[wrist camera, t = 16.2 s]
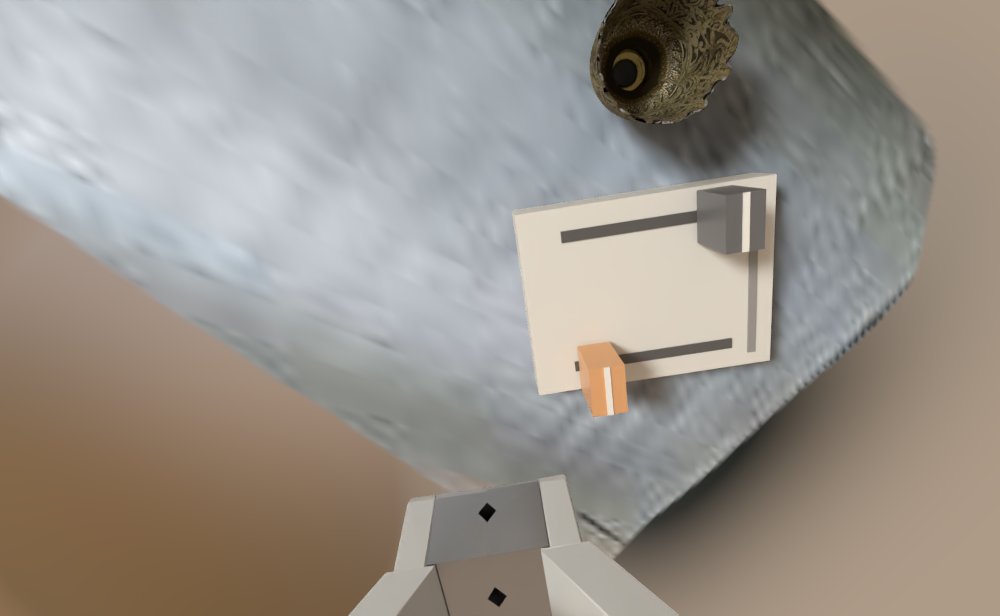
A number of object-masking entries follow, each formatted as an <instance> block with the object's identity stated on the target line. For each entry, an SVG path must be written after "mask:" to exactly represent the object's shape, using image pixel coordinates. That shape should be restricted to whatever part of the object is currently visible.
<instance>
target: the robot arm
mask: <svg viewBox="0 0 1000 616" xmlns="http://www.w3.org/2000/svg"><path fill="white" fill-rule="evenodd" d="M348 616H680V615H678V614H677V613H676V612H675V611H674V610H673V609H671V608H670V607H669V606H668V605H667V604H665V603H664V602H663V601H662V600H661V599H659V598H658V597H657V596H656V595H655V594H653V593H652V592H651V591H650V590H649V589H647V588H646V587H645V586H644V585H643V584H641V583H640V582H639V581H638V580H637V579H635V578H634V577H633V576H632V575H631V574H630V573H628V572H627V571H626V570H625V569H623V568H622V567H621V566H620V565H618V563H616V562H615V561H614V560H613V559H612V558H610V557H609V556H608V555H607V554H606V553H604V552H603V551H602V550H601V549H600V548H599V547H597V546H596V545H595V544H594V543H593V542H591V541H589V542H583V541H582V537H581V534H580V530H579V526H578V522H577V518H576V514H575V510H574V506H573V502H572V498H571V494H570V491H569V487H568V483H567V479H566V477H565V476H564V474H563V475H557V476H552V477H546V478H540V479H539V483H538V480H532V481H526V482H520V483H514V484H508V485H502V486H496V487H489V488H482V489H474V490H467V491H459V492H452V493H444V494H438V495H432V496H425V497H418V498H411V500H410V501H409V503H408V505H407V509H406V514H405V519H404V524H403V529H402V534H401V539H400V544H399V548H398V554H397V559H396V563H395V569H394V572H389V573H385V574H384V575H383V577H382V578H381V579H380V580H379V581H378V582H377V583H376V585H375V586H374V587H373V588H372V589H371V590H370V591H369V593H368V594H367V595H366V596H365V597H364V598H363V599H362V601H361V602H360V603H359V604H358V605H357V606H356V607H355V609H354V610H353V611H352V612H351V613H350V614H349V615H348Z"/></svg>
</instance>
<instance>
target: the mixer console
mask: <svg viewBox="0 0 1000 616" xmlns="http://www.w3.org/2000/svg"><path fill="white" fill-rule="evenodd" d="M776 180H777V174H768V173H746V174H740V175H733V176H727V177H721V178H714V179H708V180H702V181H695V182H689V183H683V184H676V185H670V186H663V187H657V188H651V189H644V190H638V191H632V192H625V193H619V194H613V195H606V196H600V197H594V198H587V199H581V200H574V201H568V202H562V203H555V204H549V205H543V206H536V207H530V208H524V209H517V210H512V216H513V223H514V230H515V237H516V244H517V251H518V258H519V265H520V273H521V280H522V287H523V294H524V301H525V308H526V315H527V322H528V329H529V336H530V344H531V351H532V358H533V365H534V372H535V379H536V383H537V387H538V391H539V395H544V394H551V393H557V392H564V391H571V390H577V389H581V379H580V370H579V360H578V351H577V346H583V345H589V344H596V343H603V342H610V344H611V345H612V347H613V348H614V350H615V351H616V353H617V354H618V356H619V357H620V359H621V360H622V361H623V363H624V364H625V377H626V382H630V381H637V380H643V379H650V378H657V377H663V376H670V375H676V374H683V373H690V372H696V371H703V370H709V369H716V368H723V367H729V366H736V365H742V364H749V363H756V362H762V361H769V360H770V343H771V316H772V289H773V261H774V234H775V207H776ZM728 185H737V186H745V187H754V188H762V189H766V221H765V249H759V250H753V251H749V252H740V253H733V254H727V255H725V254H723V253H721V252H718V251H716V250H713V249H711V248H708V247H706V246H703V245H701V244H699V243H697V190H703V189H709V188H716V187H722V186H728Z"/></svg>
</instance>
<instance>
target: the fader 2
mask: <svg viewBox="0 0 1000 616" xmlns="http://www.w3.org/2000/svg"><path fill="white" fill-rule="evenodd" d="M765 221H766V189H762V188H754V187H745V186H737V185H728V186H722V187H716V188H709V189H703V190H697V243H699V244H701V245H703V246H706V247H708V248H711V249H713V250H716V251H718V252H721V253H723V254H725V255H727V254H733V253H740V252H749V251H753V250H759V249H765Z"/></svg>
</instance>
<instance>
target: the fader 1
mask: <svg viewBox="0 0 1000 616" xmlns="http://www.w3.org/2000/svg"><path fill="white" fill-rule="evenodd" d="M577 351H578V360H579V370H580V379H581V389H582V391H583V394H584V396H585V399H586V401H587V403H588V406H589V408H590V410H591V413H592V415H593V417H597V416H603V415H608V416H609V415H614V414H617V413H623V412H628V405H627V391H626V377H625V364H624V363H623V361H622V360H621V359H620V357H619V356H618V354H617V353H616V351H615V350H614V348H613V347H612V345H611V344H610V342H603V343H596V344H589V345H583V346H577Z"/></svg>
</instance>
